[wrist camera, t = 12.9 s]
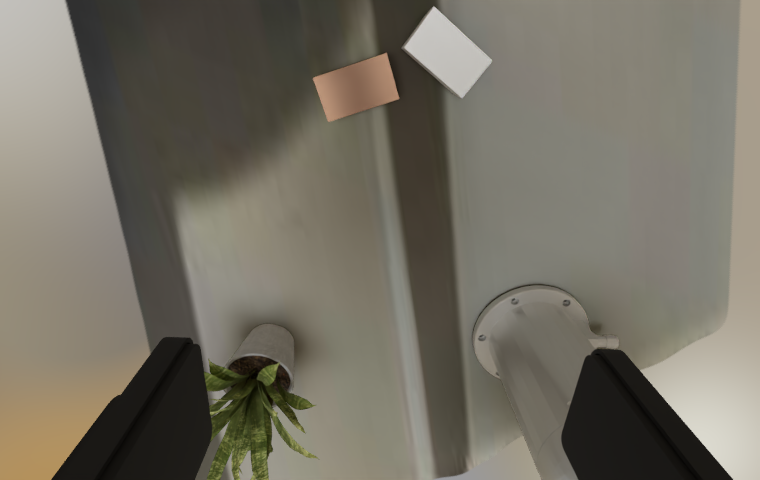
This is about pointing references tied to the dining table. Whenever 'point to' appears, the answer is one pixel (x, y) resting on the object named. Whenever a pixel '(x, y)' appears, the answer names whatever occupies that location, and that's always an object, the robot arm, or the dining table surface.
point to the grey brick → (446, 53)
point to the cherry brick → (356, 87)
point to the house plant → (254, 400)
